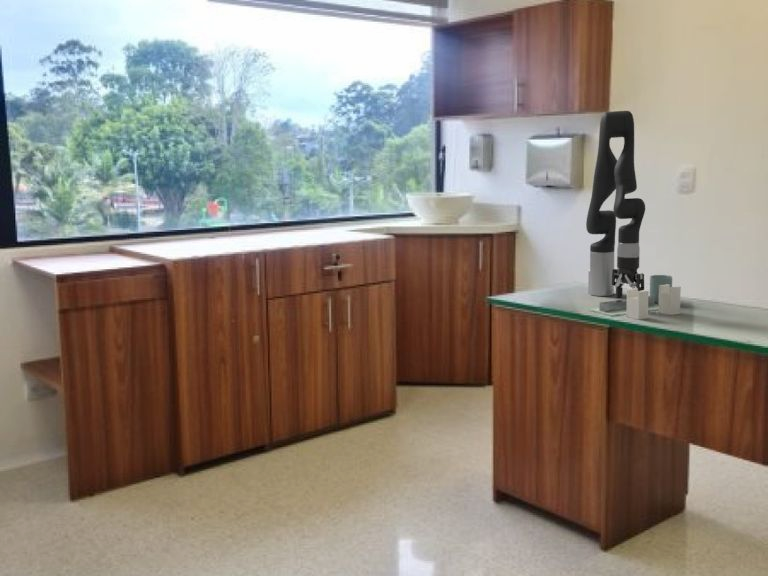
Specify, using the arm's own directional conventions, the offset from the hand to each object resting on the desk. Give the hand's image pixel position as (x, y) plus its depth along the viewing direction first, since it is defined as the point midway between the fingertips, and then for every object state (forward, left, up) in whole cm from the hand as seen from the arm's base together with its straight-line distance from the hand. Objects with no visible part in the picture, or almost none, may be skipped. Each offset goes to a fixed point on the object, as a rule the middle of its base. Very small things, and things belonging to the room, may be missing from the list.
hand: (627, 300), depth 275 cm
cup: (-3, +18, -4) cm, 18 cm away
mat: (0, 0, -4) cm, 4 cm away
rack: (+12, +1, -4) cm, 13 cm away
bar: (0, 0, -3) cm, 3 cm away
